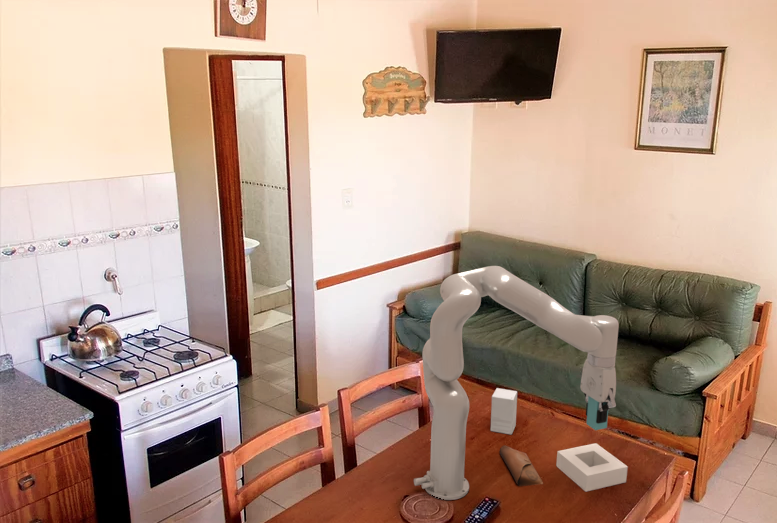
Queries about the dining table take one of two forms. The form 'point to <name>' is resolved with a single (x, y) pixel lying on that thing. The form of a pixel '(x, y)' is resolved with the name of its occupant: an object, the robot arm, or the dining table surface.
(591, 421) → the teal post
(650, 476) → the dining table surface
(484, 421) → the dining table surface
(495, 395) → the supplement box
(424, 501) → the dining table surface
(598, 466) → the well block
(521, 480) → the sunglasses case
